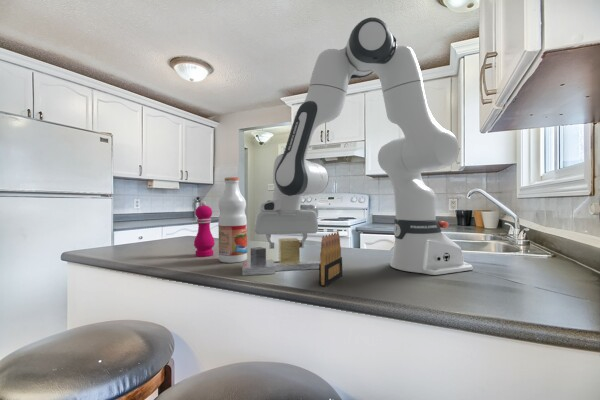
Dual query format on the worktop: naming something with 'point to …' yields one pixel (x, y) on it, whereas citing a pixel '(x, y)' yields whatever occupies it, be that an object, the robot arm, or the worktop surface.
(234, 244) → the fruit juice
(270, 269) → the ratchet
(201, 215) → the pepper mill
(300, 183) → the robot arm
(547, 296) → the worktop surface
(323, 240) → the ammunition clip
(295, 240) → the tan sponge block
